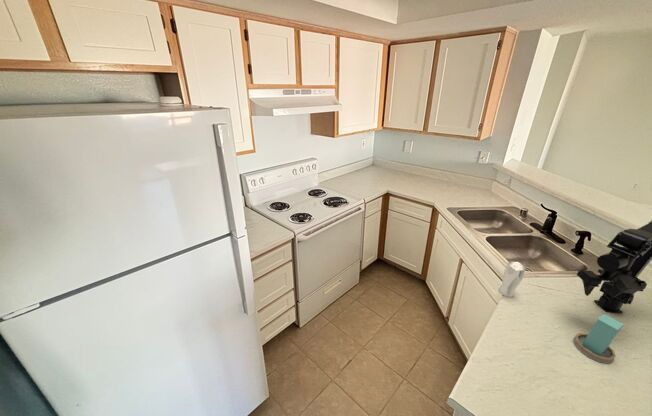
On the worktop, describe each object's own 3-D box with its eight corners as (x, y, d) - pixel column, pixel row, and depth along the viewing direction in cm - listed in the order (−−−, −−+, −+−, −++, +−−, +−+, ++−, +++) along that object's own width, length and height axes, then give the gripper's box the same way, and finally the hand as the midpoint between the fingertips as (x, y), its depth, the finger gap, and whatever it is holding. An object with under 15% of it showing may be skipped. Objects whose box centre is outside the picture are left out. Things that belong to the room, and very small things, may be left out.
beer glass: (495, 292, 119) (505, 265, 113) (499, 285, 124) (509, 259, 118) (512, 300, 115) (524, 273, 109) (516, 292, 120) (528, 266, 113)
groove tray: (595, 338, 98) (598, 334, 97) (621, 365, 89) (624, 361, 88) (565, 335, 99) (567, 331, 98) (588, 361, 89) (591, 357, 89)
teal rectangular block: (587, 339, 97) (604, 313, 91) (605, 350, 93) (623, 324, 87) (581, 345, 94) (597, 318, 89) (599, 356, 90) (617, 329, 85)
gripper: (611, 275, 89) (590, 309, 95) (671, 280, 87) (645, 314, 94) (584, 256, 99) (567, 288, 105) (638, 260, 97) (617, 292, 104)
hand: (599, 296), depth 102 cm, fingers open, 9 cm apart
